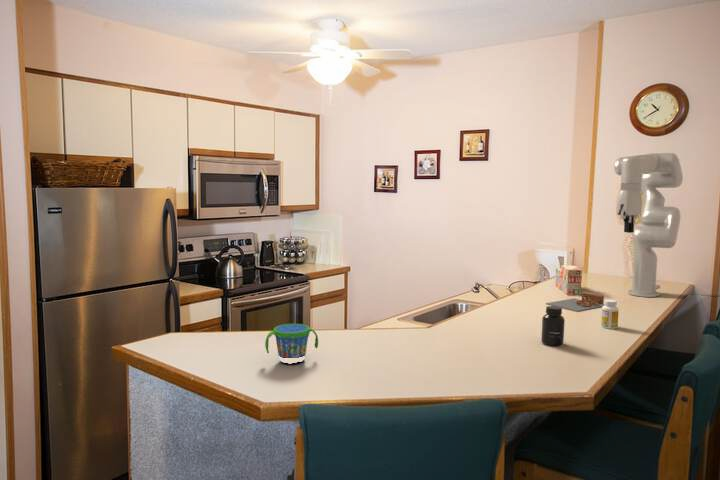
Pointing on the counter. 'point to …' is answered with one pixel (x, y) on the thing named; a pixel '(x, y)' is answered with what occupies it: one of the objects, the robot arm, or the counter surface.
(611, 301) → the supplement bottle
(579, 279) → the stack of blocks
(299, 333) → the snack cup
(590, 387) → the counter surface
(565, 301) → the mat
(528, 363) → the counter surface
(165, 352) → the counter surface
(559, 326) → the supplement bottle
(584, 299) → the gingerbread man figurine
